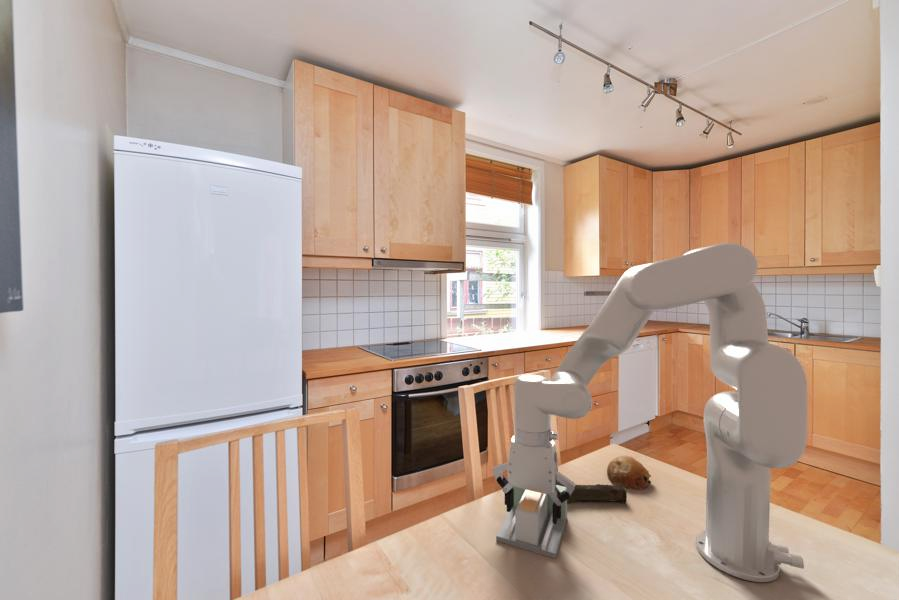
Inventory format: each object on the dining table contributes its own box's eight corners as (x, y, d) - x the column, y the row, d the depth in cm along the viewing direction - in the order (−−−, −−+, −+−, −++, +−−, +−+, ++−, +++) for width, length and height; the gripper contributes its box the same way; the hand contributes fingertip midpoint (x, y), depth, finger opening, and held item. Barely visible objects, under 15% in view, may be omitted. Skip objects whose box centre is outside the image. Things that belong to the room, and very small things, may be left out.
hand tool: (620, 496, 92) (621, 478, 92) (627, 505, 88) (628, 486, 88) (544, 495, 93) (544, 476, 93) (547, 504, 89) (547, 485, 89)
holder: (547, 517, 82) (547, 487, 82) (537, 545, 73) (537, 513, 73) (527, 511, 84) (527, 483, 84) (515, 539, 75) (515, 507, 75)
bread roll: (625, 482, 106) (613, 453, 108) (660, 480, 98) (647, 448, 101) (607, 494, 99) (596, 463, 102) (644, 493, 92) (630, 459, 94)
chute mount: (566, 517, 84) (567, 487, 83) (556, 558, 71) (556, 523, 71) (514, 504, 89) (514, 475, 89) (496, 540, 76) (496, 507, 76)
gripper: (577, 435, 78) (577, 514, 78) (498, 422, 85) (498, 495, 86) (572, 449, 71) (572, 536, 72) (487, 434, 78) (487, 513, 79)
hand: (532, 514), depth 79 cm, fingers open, 9 cm apart
